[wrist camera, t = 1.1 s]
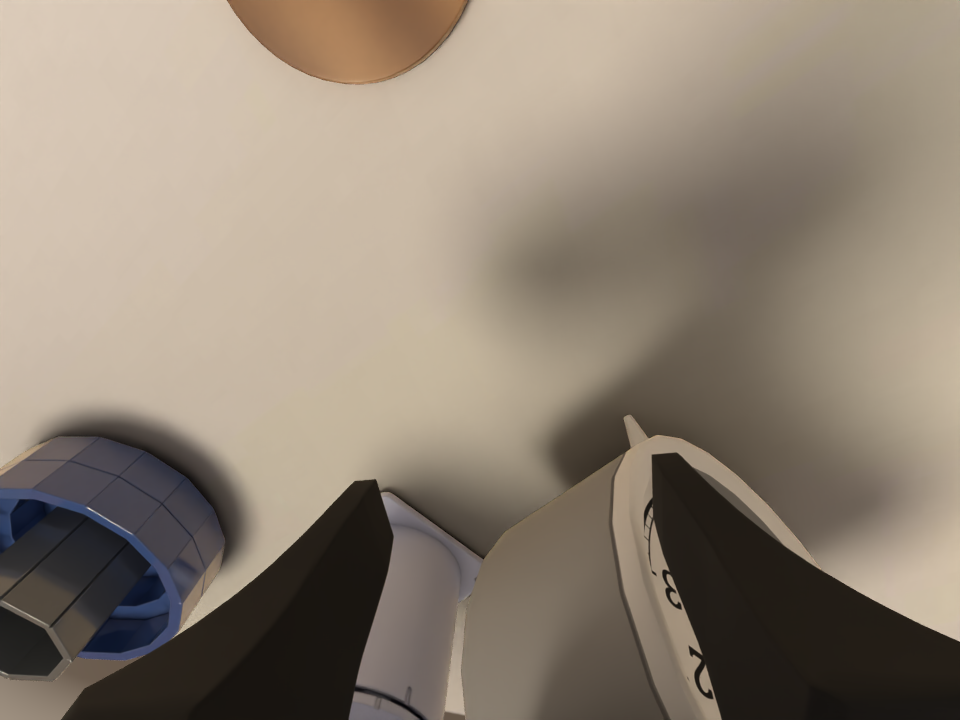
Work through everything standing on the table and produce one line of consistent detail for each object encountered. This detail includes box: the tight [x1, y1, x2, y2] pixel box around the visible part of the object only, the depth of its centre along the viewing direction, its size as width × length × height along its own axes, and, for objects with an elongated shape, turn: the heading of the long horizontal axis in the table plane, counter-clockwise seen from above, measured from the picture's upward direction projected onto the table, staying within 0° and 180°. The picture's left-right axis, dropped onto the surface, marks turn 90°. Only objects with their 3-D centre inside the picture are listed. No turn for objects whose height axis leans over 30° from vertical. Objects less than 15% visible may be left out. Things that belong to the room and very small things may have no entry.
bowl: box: [0, 436, 225, 660], centre depth 26 cm, size 12×12×4 cm
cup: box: [0, 506, 151, 682], centre depth 25 cm, size 5×5×7 cm
